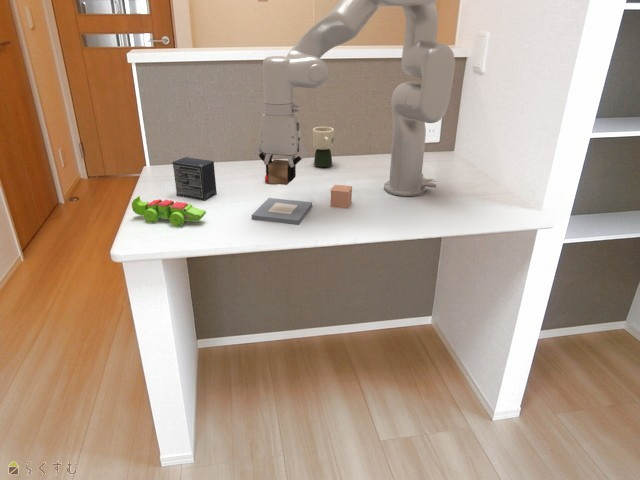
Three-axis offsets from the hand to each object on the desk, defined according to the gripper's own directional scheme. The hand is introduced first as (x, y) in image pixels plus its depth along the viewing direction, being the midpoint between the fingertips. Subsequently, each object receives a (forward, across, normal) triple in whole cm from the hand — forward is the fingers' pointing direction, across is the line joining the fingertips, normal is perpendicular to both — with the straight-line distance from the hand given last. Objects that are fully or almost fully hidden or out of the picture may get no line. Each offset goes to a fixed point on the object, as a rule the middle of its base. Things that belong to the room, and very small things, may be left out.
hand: (280, 178), depth 131 cm
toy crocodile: (+11, +27, +12) cm, 31 cm away
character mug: (+10, 0, -43) cm, 44 cm away
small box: (+10, +29, -6) cm, 31 cm away
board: (+10, 0, 0) cm, 10 cm away
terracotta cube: (+10, -14, -10) cm, 20 cm away
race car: (+10, +12, -27) cm, 31 cm away
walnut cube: (+1, 0, 0) cm, 1 cm away
